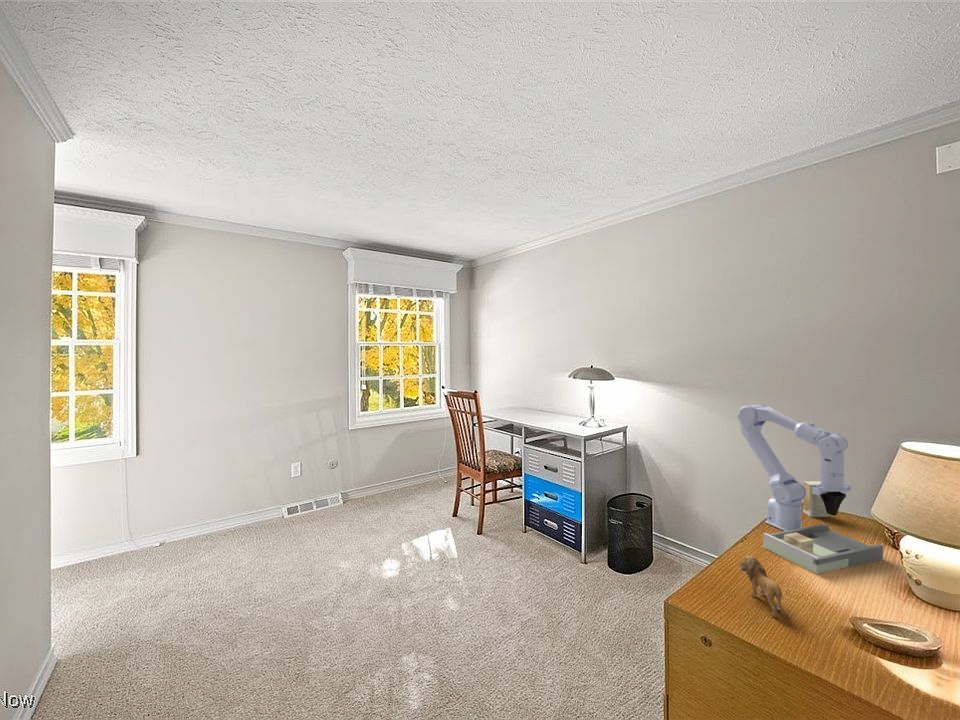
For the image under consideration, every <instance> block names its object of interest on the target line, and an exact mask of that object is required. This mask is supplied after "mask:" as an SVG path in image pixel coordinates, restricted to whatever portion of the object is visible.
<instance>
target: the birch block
mask: <svg viewBox="0 0 960 720" xmlns="http://www.w3.org/2000/svg"><path fill="white" fill-rule="evenodd" d="M784 541H785V542H787V543H789V544H791V545H793V546H795V547H797V548H800V549H802V550H804V551H806V552H808V553H810V554H811V553H813V539H810V538H808V537H806V536H803V535H801V534H799V533H791V534H785V535H784Z"/></svg>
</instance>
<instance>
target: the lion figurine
mask: <svg viewBox="0 0 960 720" xmlns="http://www.w3.org/2000/svg"><path fill="white" fill-rule="evenodd" d="M744 557H745V558H744V559H743V560H742V562H740V563H738V564H737V565H738V566H739V568H740V571H741V572H745V575H747V577H748V580H749V581H750V582H751V587H752V592H751V593H750V596H751V597H753V598H757V597H758V587H759V588H760V591H759V595H760V596H766V597H767V602H768V603H769V606H770V607H771V609H772V612H770V616H772V618H777V617H778V611H780V613H781V614H782V615H783V617H784V618H785V619H786V620H787V621H790V620H791V618H790V617H789V616H788V615H787V614H786V613H785V612H784V610H783V607H782V606H783V605H782V597H783V596H782V595H783V592H782V589H781V587H780V585H779V584H778V583H776V582H775V581H773V580H772V579H771V578H770V577H769V576H768V575H767V571H766V569H765V568H764V566H763V565H762V564H761V563H760V562H759V561H758V559H756V558H754V557H753V556H751V555H744ZM774 599H776V602H777V605H775V600H774ZM777 610H778V611H777Z"/></svg>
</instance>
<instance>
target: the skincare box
mask: <svg viewBox="0 0 960 720" xmlns="http://www.w3.org/2000/svg"><path fill="white" fill-rule="evenodd" d="M820 483H821V480H819V481H817V480H812V481H811V480H803V484H802V485H803V486H804V488H805V490H806V496H805V497H804V498H803V499H802V500H803V501H802V504H803V505H802V512H803V513H804V514H806V516H808V517H811V518H828V517H829V514H827V512H826V508H825V505H824V502H823V500H822V498H821V497H820V495H816V494H813V493H812V487H816V486H817V485H819V484H820Z"/></svg>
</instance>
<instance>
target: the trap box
mask: <svg viewBox="0 0 960 720" xmlns="http://www.w3.org/2000/svg"><path fill="white" fill-rule="evenodd" d="M829 526H830V525H829V524H827V523H822V524H817V525H815V524H814V525H811V526H805V527H804V528H799V529H793V530H788V531H784V530H781V531H777V532H772V533H767V532H763V535H762V536H763V539H762V542H763V543H762V546H763V547H762V548H764V549H766V550H768V551H770V552H772V553H773V554H776V555H778V556H779V557H781V558H784V559H786V560H788V561H790V562H792V563H794V564H796V565H797V566H800V567H802V568H804V569H806V570H808V571H810V572H811V573H813V574H815V575H818V574H823V573H828V572H831V571H836V570H840V569H845V568H850V567H853V566H857V565H858V566H859V565H862V564H867V563H872V562H876V561H881V560H884V545H882V544H874V545H869V544H867V543H864V542H861V541H859V540H857V539H853V538H852V537H848V536H846V535H844V534H841V533H839V532H837V531H834V530H831V529H829ZM791 533H799V534H801V535H803V536H806V537H808V538H810V539H813V553H811V554H810V553H808V552H806V551H804V550H802V549H800V548H797V547H795V546H793V545H791V544H789V543H787V542H785V541H784V535H785V534H791Z"/></svg>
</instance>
